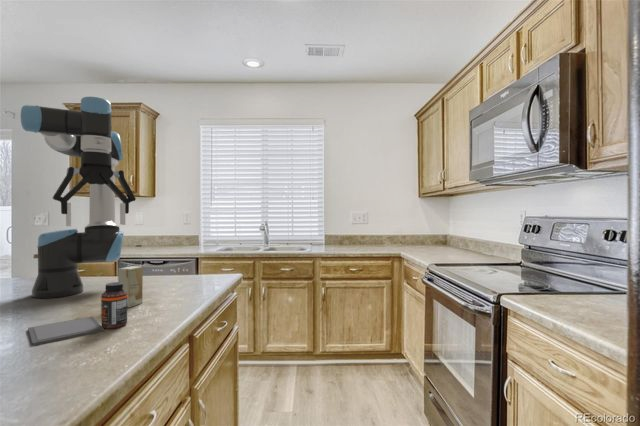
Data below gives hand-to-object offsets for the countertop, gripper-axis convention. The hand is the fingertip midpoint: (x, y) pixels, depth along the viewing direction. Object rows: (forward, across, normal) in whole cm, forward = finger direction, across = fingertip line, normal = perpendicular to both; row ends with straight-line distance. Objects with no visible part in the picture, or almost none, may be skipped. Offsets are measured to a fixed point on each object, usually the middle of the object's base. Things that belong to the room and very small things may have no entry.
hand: (96, 225), depth 102 cm
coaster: (+26, -9, -10) cm, 29 cm away
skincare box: (+27, +10, +5) cm, 29 cm away
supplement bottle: (+26, +1, -14) cm, 30 cm away
